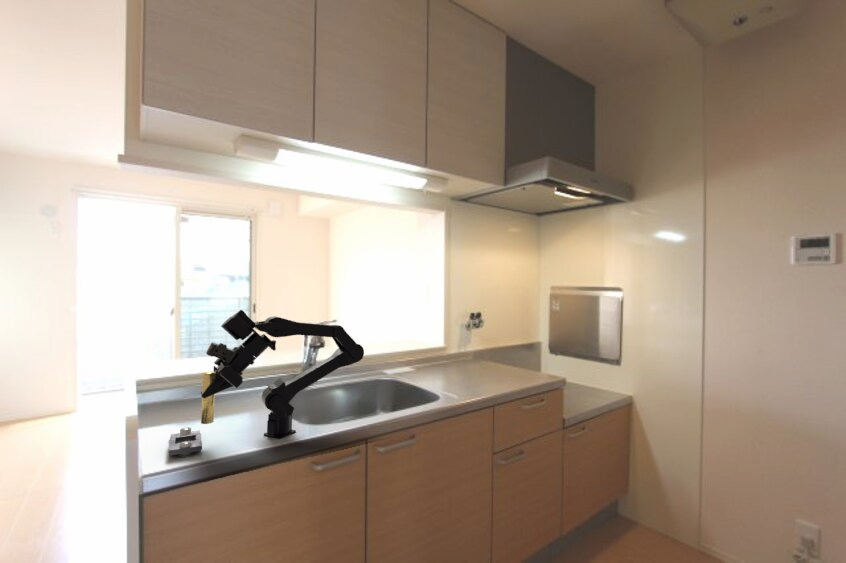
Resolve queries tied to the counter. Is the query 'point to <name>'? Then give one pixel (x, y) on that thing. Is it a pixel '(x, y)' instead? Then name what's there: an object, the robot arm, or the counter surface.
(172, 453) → the grey slotted block
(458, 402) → the counter surface
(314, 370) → the robot arm
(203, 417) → the pin
